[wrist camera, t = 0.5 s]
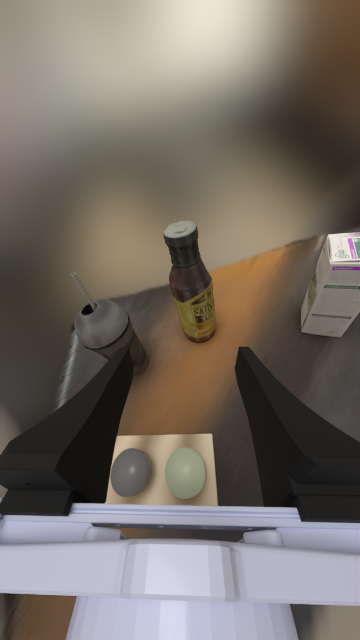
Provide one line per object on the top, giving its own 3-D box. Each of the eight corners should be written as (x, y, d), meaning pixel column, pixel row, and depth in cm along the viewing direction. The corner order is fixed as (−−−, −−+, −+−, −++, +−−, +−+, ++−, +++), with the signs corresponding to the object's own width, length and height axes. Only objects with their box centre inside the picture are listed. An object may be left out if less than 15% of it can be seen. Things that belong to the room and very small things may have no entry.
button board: (212, 434, 27) (211, 433, 26) (219, 518, 22) (218, 519, 21) (87, 437, 30) (83, 437, 29) (68, 510, 25) (63, 511, 24)
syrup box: (341, 338, 31) (402, 261, 20) (298, 333, 33) (331, 260, 22) (337, 311, 34) (388, 230, 23) (298, 307, 36) (327, 232, 25)
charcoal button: (155, 449, 25) (148, 447, 23) (151, 495, 22) (144, 497, 21) (123, 450, 26) (115, 448, 24) (116, 494, 23) (106, 496, 21)
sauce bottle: (205, 349, 35) (182, 251, 20) (178, 335, 38) (139, 241, 23) (223, 322, 37) (215, 218, 22) (196, 311, 41) (173, 213, 25)
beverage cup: (110, 370, 36) (20, 294, 21) (136, 340, 39) (73, 255, 24) (137, 390, 33) (51, 316, 18) (163, 356, 36) (109, 267, 20)
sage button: (205, 449, 24) (203, 447, 22) (208, 497, 21) (206, 499, 19) (171, 449, 25) (165, 447, 23) (169, 496, 22) (163, 498, 20)
